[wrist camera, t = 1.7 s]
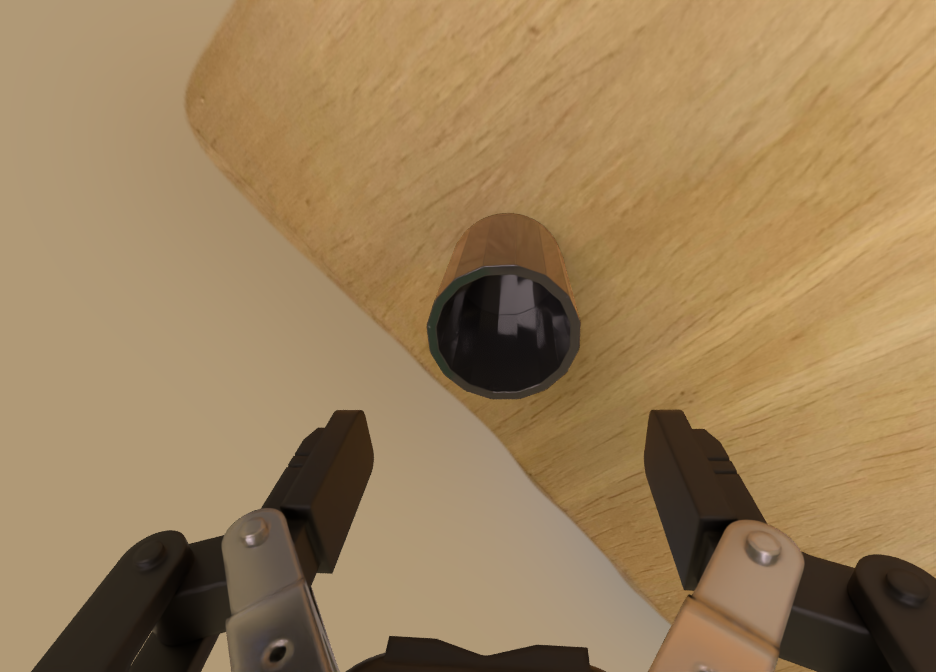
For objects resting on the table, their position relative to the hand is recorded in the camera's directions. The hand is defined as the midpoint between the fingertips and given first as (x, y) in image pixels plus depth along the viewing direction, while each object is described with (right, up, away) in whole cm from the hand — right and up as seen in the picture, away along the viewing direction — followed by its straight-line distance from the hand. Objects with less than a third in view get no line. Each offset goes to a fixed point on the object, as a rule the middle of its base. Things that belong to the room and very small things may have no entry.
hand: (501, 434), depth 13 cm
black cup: (+1, +7, +12) cm, 14 cm away
